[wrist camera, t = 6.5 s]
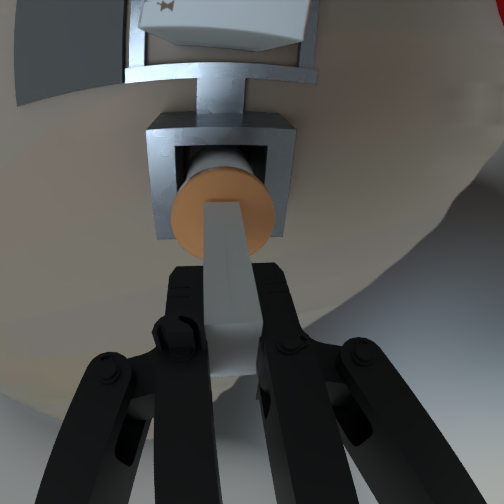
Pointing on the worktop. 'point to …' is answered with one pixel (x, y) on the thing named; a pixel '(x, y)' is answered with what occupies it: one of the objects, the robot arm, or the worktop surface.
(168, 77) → the housing
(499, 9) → the white red kettle
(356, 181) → the worktop surface
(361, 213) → the worktop surface
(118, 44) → the mat
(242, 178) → the plunger
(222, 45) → the small box
